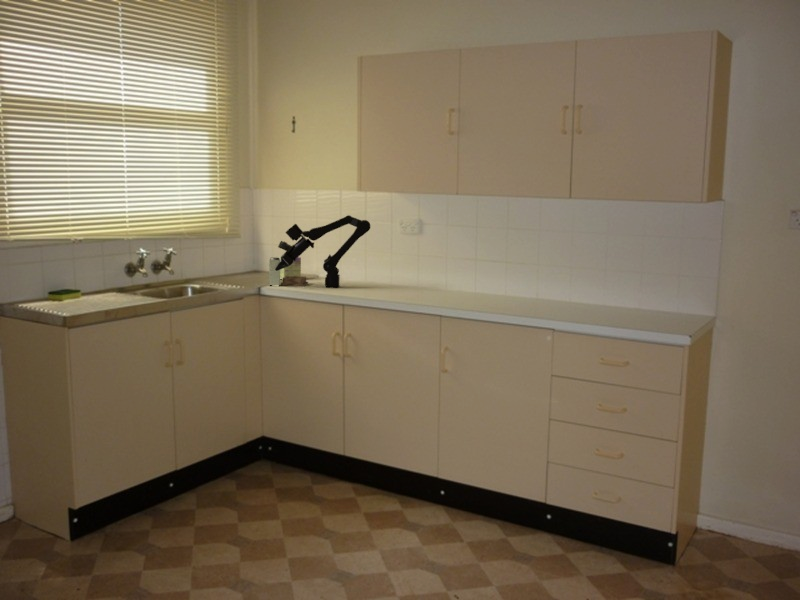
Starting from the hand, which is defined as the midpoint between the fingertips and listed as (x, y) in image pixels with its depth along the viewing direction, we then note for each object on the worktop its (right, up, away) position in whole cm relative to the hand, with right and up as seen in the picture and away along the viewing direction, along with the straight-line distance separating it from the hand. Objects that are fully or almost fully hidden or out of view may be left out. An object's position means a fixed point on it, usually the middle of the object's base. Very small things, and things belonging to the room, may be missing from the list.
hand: (276, 269), depth 397 cm
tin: (-1, -8, +1) cm, 8 cm away
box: (+3, -5, +26) cm, 26 cm away
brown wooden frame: (+8, -7, +8) cm, 13 cm away
